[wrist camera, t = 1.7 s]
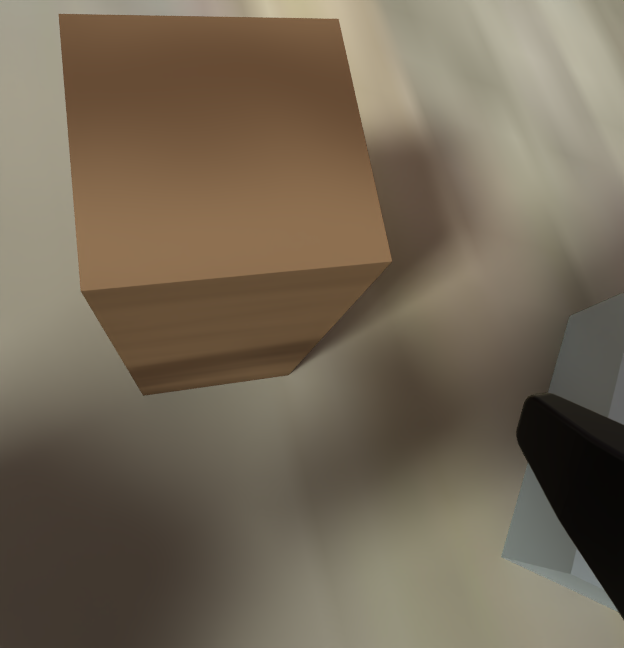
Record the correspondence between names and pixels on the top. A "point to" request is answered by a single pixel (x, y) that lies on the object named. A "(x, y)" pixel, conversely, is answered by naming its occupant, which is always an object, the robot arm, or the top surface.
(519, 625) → the top surface
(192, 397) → the top surface
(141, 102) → the walnut block
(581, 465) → the robot arm
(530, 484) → the base block
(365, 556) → the top surface
